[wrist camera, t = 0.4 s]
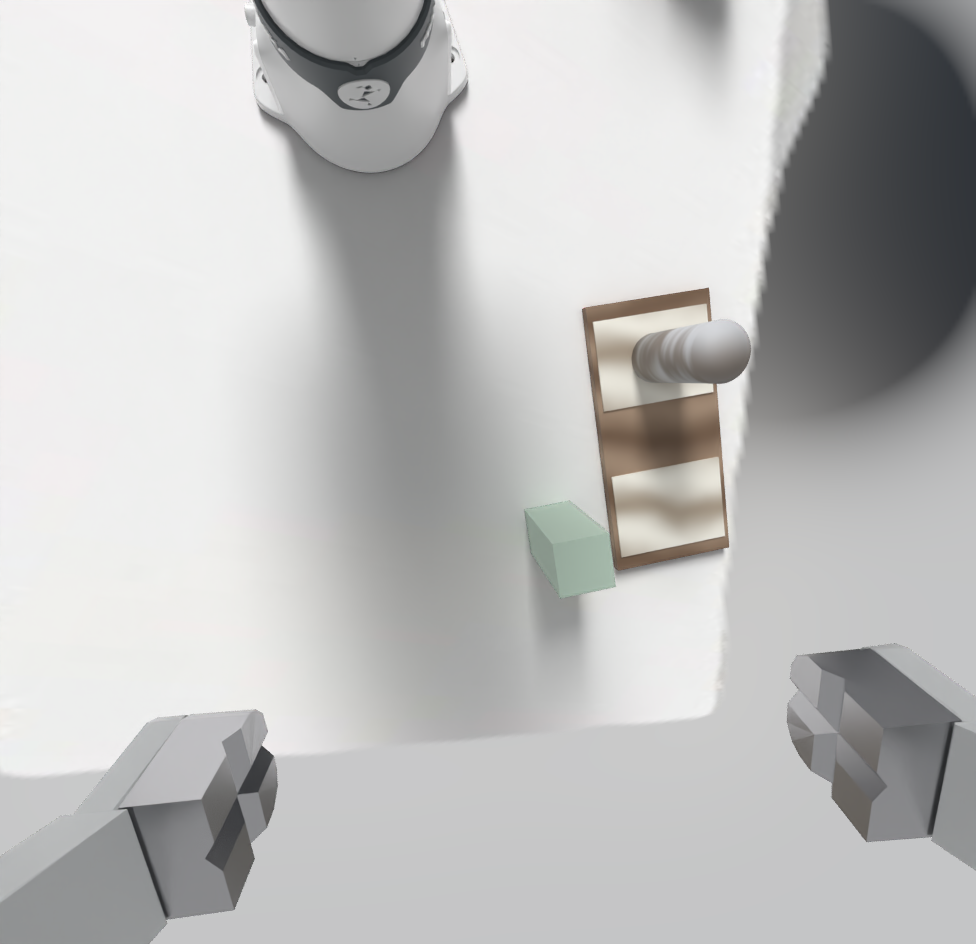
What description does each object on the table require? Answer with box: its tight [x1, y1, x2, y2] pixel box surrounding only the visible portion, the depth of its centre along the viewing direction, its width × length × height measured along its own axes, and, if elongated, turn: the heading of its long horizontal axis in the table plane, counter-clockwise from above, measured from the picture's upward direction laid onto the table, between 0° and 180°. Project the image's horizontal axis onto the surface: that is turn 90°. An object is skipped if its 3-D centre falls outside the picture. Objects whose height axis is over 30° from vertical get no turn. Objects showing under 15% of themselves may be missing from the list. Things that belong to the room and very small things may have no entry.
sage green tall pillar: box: [524, 501, 616, 599], centre depth 51 cm, size 5×5×12 cm
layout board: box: [582, 288, 751, 571], centre depth 50 cm, size 28×13×13 cm, turn 9°
